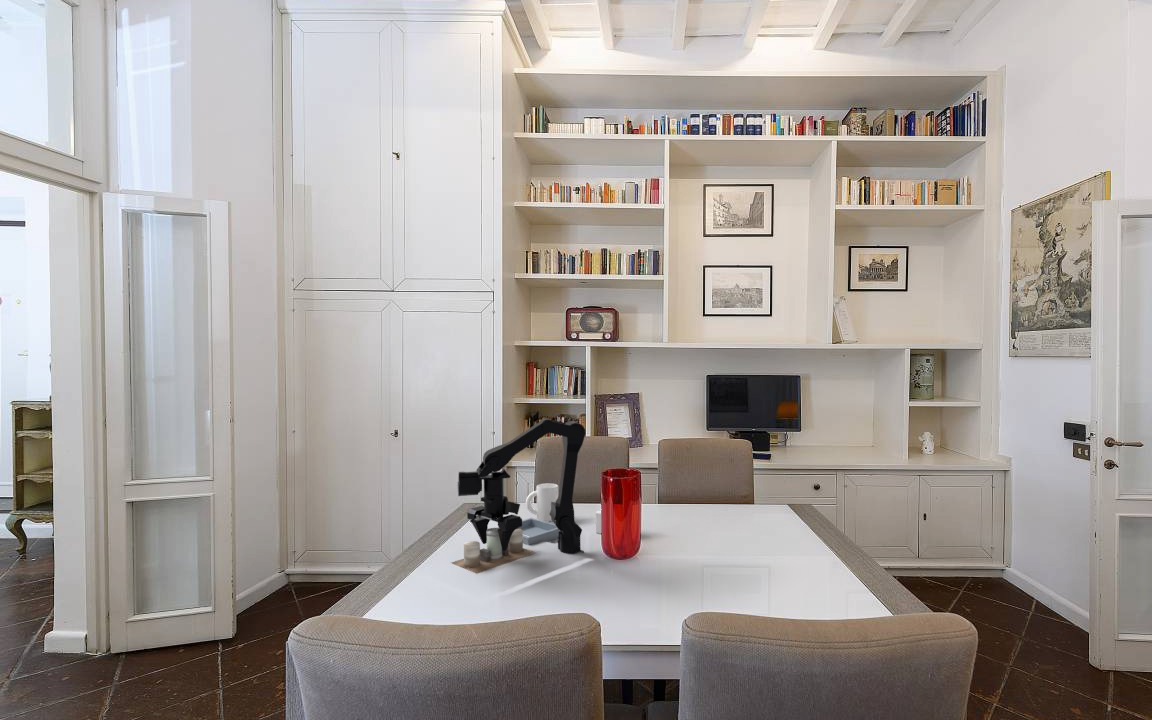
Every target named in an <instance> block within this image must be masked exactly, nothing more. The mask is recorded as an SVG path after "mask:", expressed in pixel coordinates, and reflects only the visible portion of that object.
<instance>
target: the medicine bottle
mask: <svg viewBox="0 0 1152 720" xmlns="http://www.w3.org/2000/svg"><path fill="white" fill-rule="evenodd" d="M600 500H601V501H600V506H601V505H602V497H601V498H600ZM601 510H602V509H600V510H597V511H595V533H596V534H600V535H602V534H601Z"/></svg>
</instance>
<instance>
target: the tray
mask: <svg viewBox="0 0 1152 720" xmlns="http://www.w3.org/2000/svg"><path fill="white" fill-rule="evenodd" d="M497 528H499V527H498V526H497ZM518 529H522V530H523V545H527V546H529V545H532V544H535V543H538V542H541V541H544V542H550V541H553V540H555V539H558V532H560V530H559V529H558V528H557V527H556V525H555V524H554V523H553V522H545V521H541V520H538V519H537V518H533V517H530V518H526V519H522V526H521V527H519V528H518Z"/></svg>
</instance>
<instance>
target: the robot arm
mask: <svg viewBox="0 0 1152 720" xmlns="http://www.w3.org/2000/svg"><path fill="white" fill-rule="evenodd" d="M548 434H551V435H552V434H553V435H558V436H561V441H562V445H563V446H562V447H563V457H562V463H561V472H560V473H561V474H560V479H559V486H558V498H557V500H556V502H551V512H550V513H549V515H550V516H551V519H552V521H551V522H552V524H555V525H556V527H557V528H558V529H559V530H560V532H558V538H557V549H558V550H559V551H560V552H561V553H563V554H568V555H569V554H572V555H574V554H578V553H583V554H585V550H582V549H581V548H582V547H581V535H582V532H583V529H582V528H581V526H580V525H579V524H578V523H577V521H575V508H574V502H573V497H574V488H575V482H576V473H577V465H578V456H579V452H580V450H581V448H582V446H583V443H584V440H585V437H586V428H585V427H584V426H583V425H582V424H581V423H579V422H577V421H574V420H568V421H567V422H563V421H558V420H553V419H551V418H547V417H545V418H542V419H541V420H539V422H537V423H536V424H534V425H533V426H531V427H529V428H528V429H527V430H525V431H523V432H522V433H520V434H519V435H517V436H516V437H514V438H513V439H511V440H510V441H508V442H506V443H503V444H501V445H497V446H494V447H492V448H490V449H487V450H486V451H485V452H484V453H483V455H482V462H481V463H480V464H479V466H478V467H477V469H476V470H475V471H458V481H457V496H458V497H466V496H468V497H469V496H477V495H479V493H481V492H482V491H483V496H481V497H480V502H483V505H480V506H477V507H476V506H475V507H472V508H469V509H468V511H467V513H466V515H467V519H468V520H469V522H470V523H471V524H472V526H473V527H474V529H475V531H476V533H477V536H478V538H479V539H480V540H481V543H482V544H483V545H487V535H486V530H487V529H489V528H488V525H489V523H490V521H492V522H496V523H497V528H498V527H499V528H500V529H497V530H498V534H499V538H500V542H501V547H502V550H503V551H506V550H507V547H508V544H509V541H510V538H511V535H512V533H513V532H514V531H515V530H516V529H518V528H519V527H521V526H522V520H523V518H522V517H521V516H519V515H518V514H519V511H520V508H521V503H517V502H513V501H510V500H509V498H508V496H506V495H505V493H504V491H505V490H504V489H505V487H504V484H505V482H504V479H511V475H510V474H509V473H508V472H507V471H506V469H505V466H506V465H507V464H509V462H510V461H511V460H512V459H513V458H514V457H515V456H516V455H517V454H518V453H520V452H522V451H523V450H525V449H527V448H528V447H529V446H530V445H533V444H534V443H535V442H536V441H538V440H541V438H543V437H545V436H546V435H548ZM482 481H483V482H482ZM510 513H511V514H510Z"/></svg>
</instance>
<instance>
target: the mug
mask: <svg viewBox="0 0 1152 720" xmlns="http://www.w3.org/2000/svg"><path fill="white" fill-rule="evenodd" d="M558 495H559V484H556V483H552V482H551V483H547V482H546V483H539V484H537V485H536V490H534V491H532V492H531V493H529V495H528V496H527V497H526V500H525V506H526V509H527V510H528V511H529V512H530V513H531V514H533V515H535V516H536V519H538V520H541V521H545V522H549V523H551V522H553V521H552V519H551V516H550V515H549V513H550V512H551V502H556V500H557V498H558ZM535 497H536V509H535V508H534V507H533V506H532V500H533V498H535Z"/></svg>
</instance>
